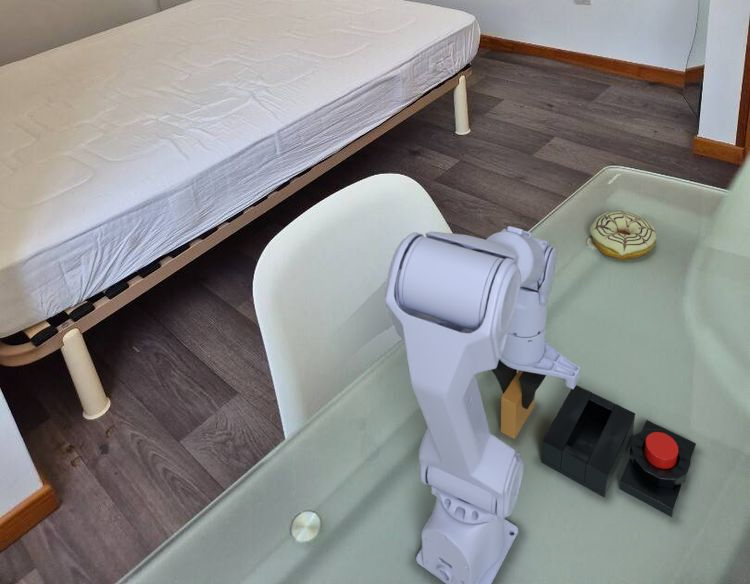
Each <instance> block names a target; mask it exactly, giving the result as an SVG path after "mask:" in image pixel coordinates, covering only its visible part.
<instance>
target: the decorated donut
mask: <svg viewBox="0 0 750 584" xmlns="http://www.w3.org/2000/svg"><path fill="white" fill-rule="evenodd" d="M589 234H590V236H591V237H592V241H593V242H594V245H595V247H597V249H598V251H600V253H601V254H603V255H604V256H606V257H611V258H614V259H618V260H632V259H636V258H640V257H643V256H646V255H647V254H649V253H650V251H652V249H653V248H654V247H655V245H656V243H657V231H656V228H655V227H654V225H653V224H652V223H651V222H650V221H649V220H648V219H645V218H644V217H642V216H640V215H638V214H636V213H634V212H630V211H625V210H614V211H606V212H604V213H602V214H601V215H598V216H597V217H596V218H595V220H594V221H593V222H592V224H591V226H590V228H589Z"/></svg>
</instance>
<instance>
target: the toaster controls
mask: <svg viewBox="0 0 750 584" xmlns="http://www.w3.org/2000/svg"><path fill="white" fill-rule="evenodd" d="M653 432H661V433H665V434H667V435H669V436H670V437H671V438H672V439H674V441H675V442H676V444H677V446H678V456H677V461H676V464H675V465H674V466H673V467H672V468H669V469H661V468H657V467H655V466H654V465H652V464H651V463H650V462H649V461H648V460H647V458H646V456H645V453H644V448H645V442H646V438H647V436H648V435H649V434H651V433H653ZM696 447H697V443H696V442H695V441H693V440H690V439H688V438H686V437H684V436H682V435H680V434H677V433H675V432H673V431H671V430H669V429H667V428H666V427H663V426H661V425H658V424H656V423H654V422H652V421H650V420H648V419H646V420H645V421H644V424H643V427H642V430H641V431H639V432H637V433H636V434H635V435H634V436H633V439H632V441H631V443H630V448H629V460H628V462H627V464H626V467H625V469H624V471H623V474H622V476H621V478H620V481H619V487H618V488H619V490H621V491H622V492H623V493H626V494H628V495H630V496H632V497H633V498H635V499H637V500H639V501H641V502H643V503H644V504H646V505H648V506H650V507H652V508H654V509H655V510H658V511H659V512H660V513H663V514H665V515H666V516H668V517H670V518H672V517H673V515H674V512H675V509H676V506H677V503H678V501H679V497H680V494H681V491H682V488H683V486H684V483H686V481H687V479H688V476H689V473H690V469H691V465H692V460H693V457H694V453H695V451H696Z"/></svg>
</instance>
